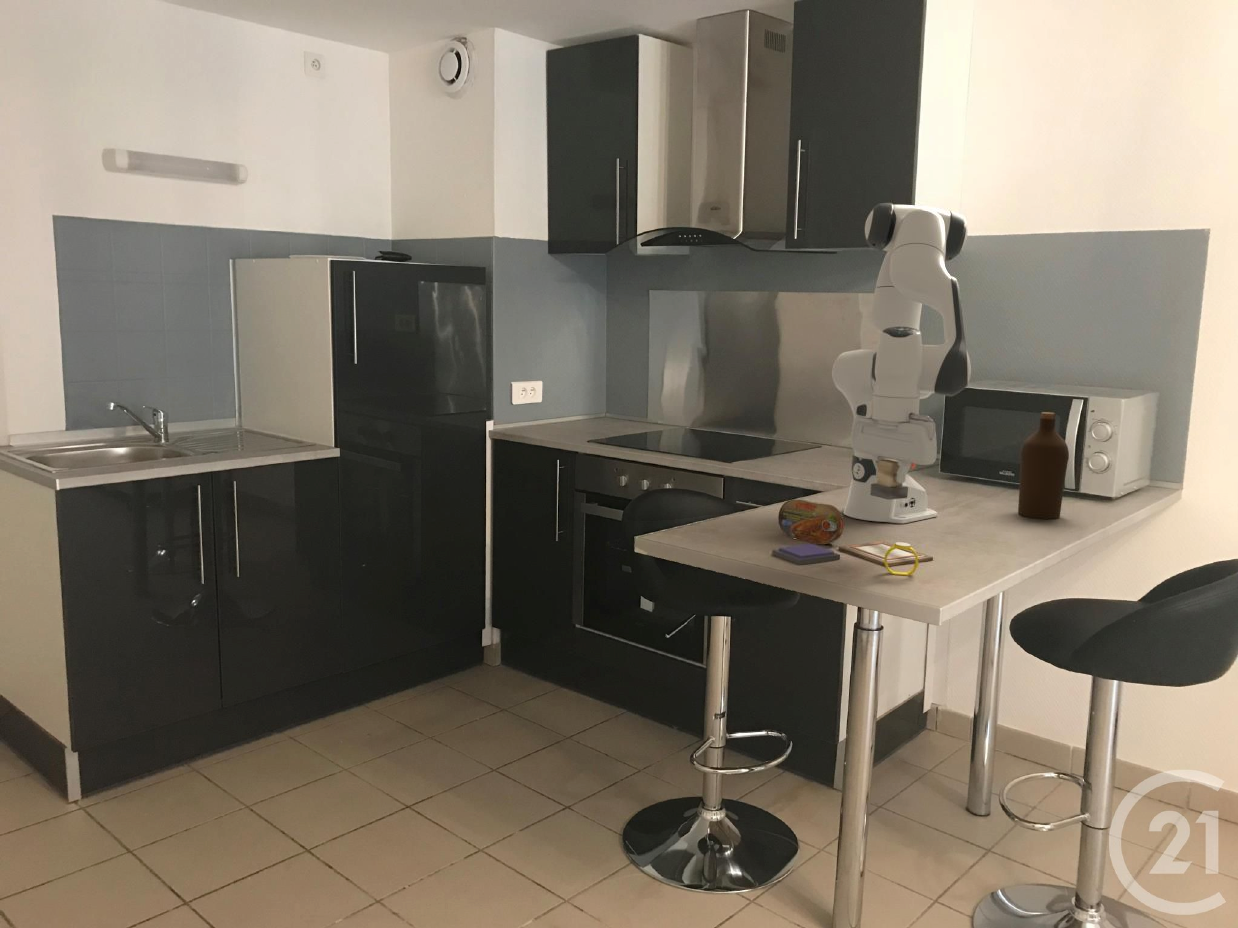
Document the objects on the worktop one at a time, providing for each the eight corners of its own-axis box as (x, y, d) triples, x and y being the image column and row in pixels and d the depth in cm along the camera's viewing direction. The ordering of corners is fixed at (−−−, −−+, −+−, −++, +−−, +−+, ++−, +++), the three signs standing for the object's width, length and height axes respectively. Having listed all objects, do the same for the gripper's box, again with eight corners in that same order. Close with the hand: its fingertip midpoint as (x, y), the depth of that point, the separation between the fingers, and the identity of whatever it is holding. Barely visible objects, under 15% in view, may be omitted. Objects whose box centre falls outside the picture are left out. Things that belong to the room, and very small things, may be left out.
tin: (776, 534, 211) (778, 496, 210) (785, 532, 213) (787, 494, 212) (836, 548, 201) (838, 508, 199) (844, 546, 203) (847, 506, 201)
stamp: (889, 493, 197) (891, 458, 196) (907, 497, 193) (909, 462, 192) (870, 495, 195) (872, 459, 194) (888, 499, 190) (890, 463, 189)
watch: (915, 575, 183) (919, 544, 182) (916, 579, 180) (921, 548, 179) (882, 570, 184) (886, 539, 183) (883, 574, 181) (887, 543, 180)
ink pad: (811, 549, 199) (812, 542, 199) (839, 559, 191) (840, 552, 191) (772, 554, 194) (772, 547, 194) (799, 564, 187) (799, 557, 186)
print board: (882, 544, 205) (883, 539, 205) (932, 560, 193) (933, 555, 193) (838, 549, 199) (838, 545, 199) (887, 566, 187) (887, 562, 187)
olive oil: (1031, 520, 232) (1041, 415, 228) (1006, 510, 242) (1015, 410, 238) (1072, 519, 234) (1082, 415, 230) (1045, 510, 244) (1054, 410, 240)
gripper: (947, 416, 184) (941, 488, 186) (871, 405, 201) (866, 471, 204) (922, 417, 181) (917, 490, 183) (847, 406, 198) (843, 473, 201)
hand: (890, 480), depth 193 cm, fingers closed on stamp, 3 cm apart
